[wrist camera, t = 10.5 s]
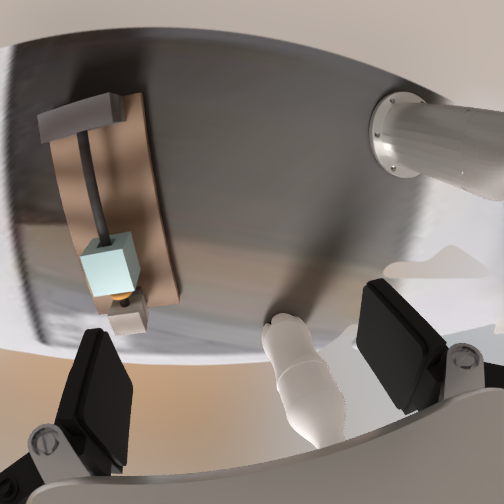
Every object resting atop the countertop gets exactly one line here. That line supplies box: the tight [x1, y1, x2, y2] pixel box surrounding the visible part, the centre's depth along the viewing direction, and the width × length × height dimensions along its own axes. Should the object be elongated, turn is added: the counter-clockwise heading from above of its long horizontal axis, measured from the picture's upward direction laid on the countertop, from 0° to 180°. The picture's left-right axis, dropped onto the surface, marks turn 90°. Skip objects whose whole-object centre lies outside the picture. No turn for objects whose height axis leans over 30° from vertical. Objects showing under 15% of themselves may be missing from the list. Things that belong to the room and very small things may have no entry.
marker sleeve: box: [80, 231, 141, 297], centre depth 32 cm, size 5×5×5 cm
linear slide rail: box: [37, 92, 180, 336], centre depth 32 cm, size 27×12×8 cm, turn 5°
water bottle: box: [262, 313, 346, 449], centre depth 36 cm, size 7×7×25 cm
